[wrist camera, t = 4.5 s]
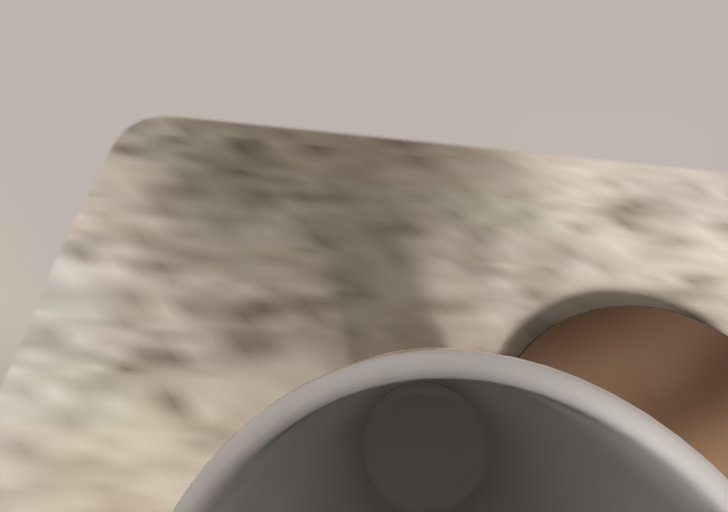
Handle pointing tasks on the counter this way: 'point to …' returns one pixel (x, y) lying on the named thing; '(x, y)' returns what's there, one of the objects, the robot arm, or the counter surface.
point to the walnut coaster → (650, 368)
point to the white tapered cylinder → (454, 445)
